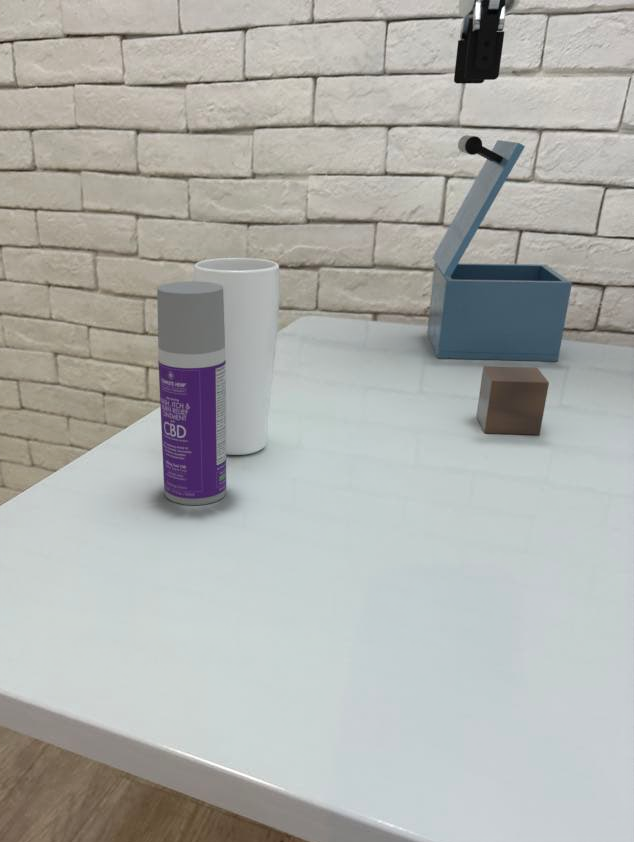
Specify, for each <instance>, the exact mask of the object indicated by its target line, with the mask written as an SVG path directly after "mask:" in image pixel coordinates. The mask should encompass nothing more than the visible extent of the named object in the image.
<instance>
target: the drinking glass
mask: <svg viewBox="0 0 634 842" xmlns="http://www.w3.org/2000/svg"><path fill="white" fill-rule="evenodd" d="M193 281H196V282H210V283H216V284H220V285H222V286H223V295H224V327H225V357H226V456H227V455H228V456H244V455H245V456H246V455H250V454H254V453H257V452H260V451H261V450H262V449H263V448H265V447H266V445H267V443H268V439H269V438H268V437H269V416H270V405H271V398H272V397H271V395H272V386H273V384H272V383H273V378H274V367H275V359H276V350H277V349H276V348H277V341H278V331H279V319H280V295H281V294H280V293H281V292H280V291H281V290H280V287H281V286H280V265H279V263H277V262H276V261H273V260H270V259H264V258H254V257H223V258H222V257H221V258H211V259H205V260H200V261H198V262H196V263H194V265H193Z"/></svg>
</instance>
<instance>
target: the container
mask: <svg viewBox="0 0 634 842" xmlns="http://www.w3.org/2000/svg"><path fill="white" fill-rule="evenodd" d="M156 294H157V295H156V298H157V299H156V300H157V302H156V303H157V348H158V349H157V351H158V352H157V353H158V354H157V355H158V356H157V357H158V359H157V360H158V361H157V362H158V363H157V364H158V381H159V382H158V384H159V401H160V402H159V405H160V406H159V408H160V425H161V447H162V450H161V451H162V468H163V469H162V471H163V473H162V474H163V489H164V491H163V493H164V496H165V498H166V499H168V500H169V501H171V502H173V503H177V504H181V505H186V506H187V505H188V506H201V505H208V504H212V503H216V502H218V501H220V500H222V499H223V498H224V497H225V496H226V494H227V454H226V357H225V327H224V295H223V286H222V285H220V284H216V283H210V282H196V281H194V280H193V281H189V280H188V281H175V282H168V283H164V284H160V285H158V286H157V288H156Z"/></svg>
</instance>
